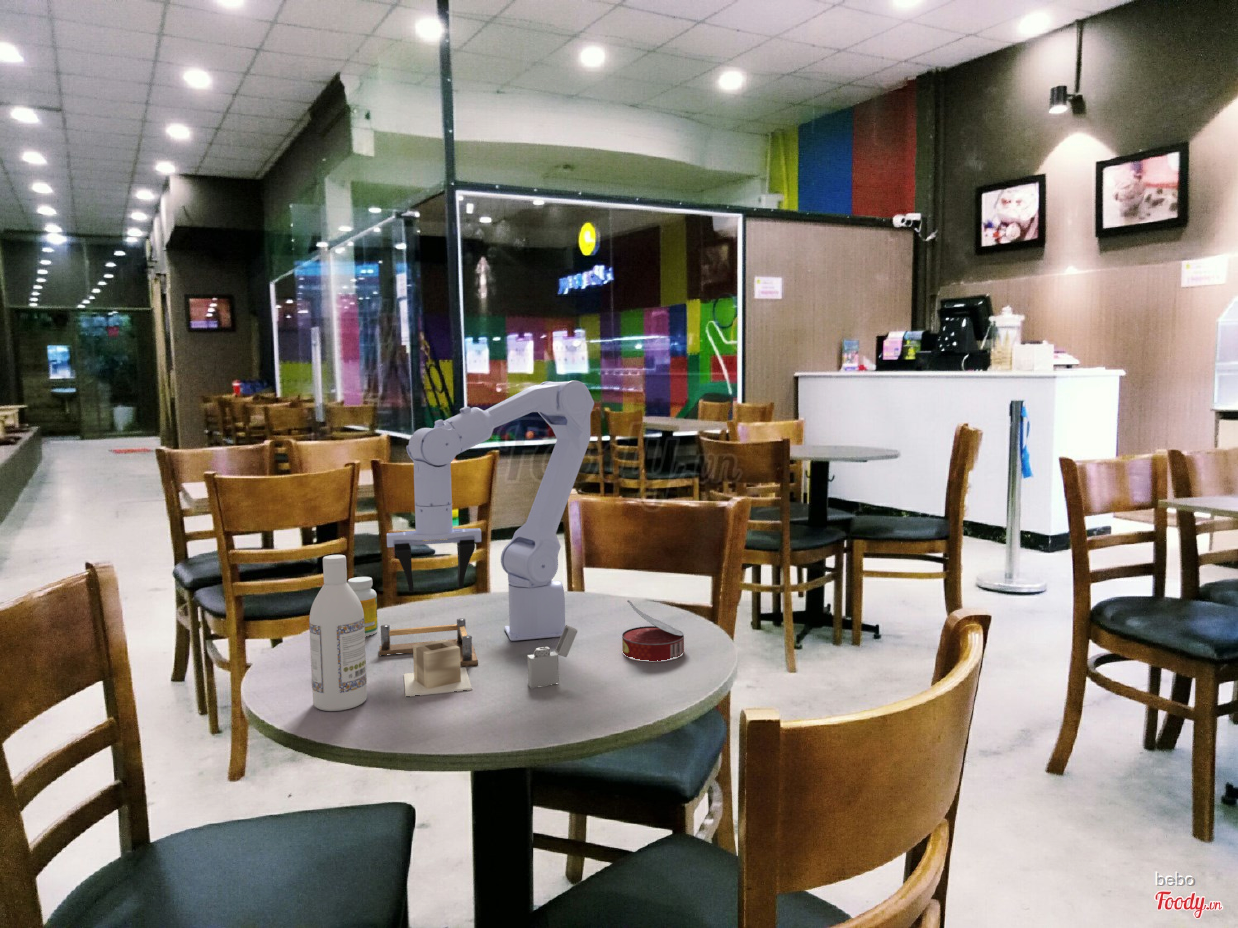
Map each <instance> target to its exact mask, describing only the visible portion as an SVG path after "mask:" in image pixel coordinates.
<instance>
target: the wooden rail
mask: <svg viewBox="0 0 1238 928" xmlns="http://www.w3.org/2000/svg"><path fill="white" fill-rule="evenodd" d="M466 629H467V627H466V618H457V619H456V623H455V624H445V625H443V624H441V625H433V626H419V627H406V628H395V629H391V628H390V624H382V625H380V645H379V651H378V653H379V654H378V655H379V656H380V655H387V654H396V653H409V654H413V645H418V644H423V643H428V642H434V641H435V640H431V641H429V640H428V641H418V642H407V643H398V644H397V643H395V644H394V643H393V644H391V637H394V636H405V635H408V636H409V635H417V634H418V635H419V634H428V633H430V634H431V633H441V632H451V631H452V632H453V631H454V632H455V631H456V637H457V638H451V639H447V640H448V641H450V642H451V643H453V644H455V645H456V646H458V647H460V668H464V667H470V666H472V667H473V666H479V659H478V655H477V653H476V651H475V648H474V646H473V642H472V641H473V640H472V638H473V637H472V635H468V632H467V630H466ZM437 641H439V640H437ZM387 656H388V655H387Z"/></svg>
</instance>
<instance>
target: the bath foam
mask: <svg viewBox="0 0 1238 928" xmlns="http://www.w3.org/2000/svg"><path fill="white" fill-rule="evenodd" d="M322 569H323V573H322V574H323V575H322V576H323V585H322V587H321V588H320V590H319V592H318V593H317V595H316V597H315V598H314V600H313V602H312V604H311V608H310V612H309V620H308V622H309V625H308V627H309V645H310V647H309V648H310V667H311V669H310V670H311V688H312V704H313V706H314V707H315V708H316V709H318V710H321V711H325V712H326V711H327V712H340V711H346V710H350V709H353V708H356V707H358V706H360V705H362V704H363V703H365V701H366V700H367V697H368V689H367V687H368V685H367V684H368V683H367V657H366V653H367V652H366V637H365V626H364V613H363V608H362V605H361V602H360V600H359V598H358V597H357V595H356V594H355V592H354V591H353V590H352V588H351V587H350V586H349V584H348V580H347V579H348V573H347V571H348V570H347V557H346V555H343V554H331V555H326V556H323V558H322Z"/></svg>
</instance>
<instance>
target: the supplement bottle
mask: <svg viewBox="0 0 1238 928" xmlns="http://www.w3.org/2000/svg"><path fill="white" fill-rule="evenodd" d="M347 583H348V584H349V586H350V587H351V588H352V590H353V591H354V592H355V594H356V595H357V597H358V598H359V600H360V602H361V605H362V608H363V613H364V626H365V636H367V637H370V636H369V635H371V636H373V635H372V634H374V635H375V634H376V633H377V632H378V630H379V629H378V628H379V626H378V602H377V601H378V597H377V592H376V590H374V589H373V588H372V587H373V578H372V577H370V576H357V577H352V578H348V580H347Z"/></svg>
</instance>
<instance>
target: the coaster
mask: <svg viewBox="0 0 1238 928" xmlns="http://www.w3.org/2000/svg"><path fill="white" fill-rule="evenodd" d="M460 669H461V682H457V683H453V684H448V685H444V686H439V687H435V688H431V689H427V688H425V687H424V686H423V685H421V684H420V683H419V682H417V681H416V680H414V672H408V673H403V680H404V681H403V682H404V696H405V698H407V697H406V696H410V697H416V696H415V695H420V696H426V695H438V694H446V693H455V692H454V691H457V692H464V691H463V690H467V691H472V690H473V689H472V685H471V684H472V683H471V680H470V678H469V675H468V669H467V667H460Z"/></svg>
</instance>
